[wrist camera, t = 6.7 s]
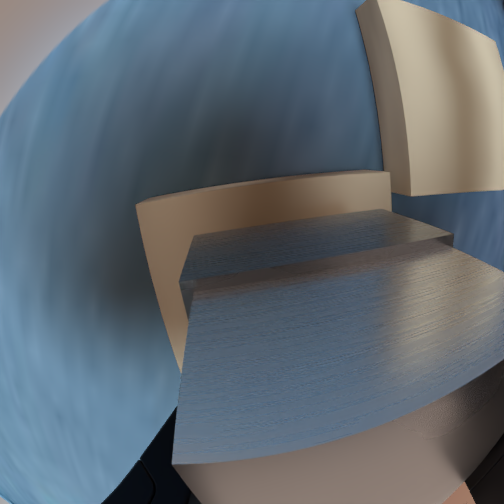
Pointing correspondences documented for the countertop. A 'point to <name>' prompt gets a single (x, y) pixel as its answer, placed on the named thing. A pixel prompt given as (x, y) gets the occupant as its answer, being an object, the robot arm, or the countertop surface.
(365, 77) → the countertop surface
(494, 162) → the stand
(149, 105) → the countertop surface
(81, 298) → the countertop surface
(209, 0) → the countertop surface
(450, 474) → the block
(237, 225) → the stand
